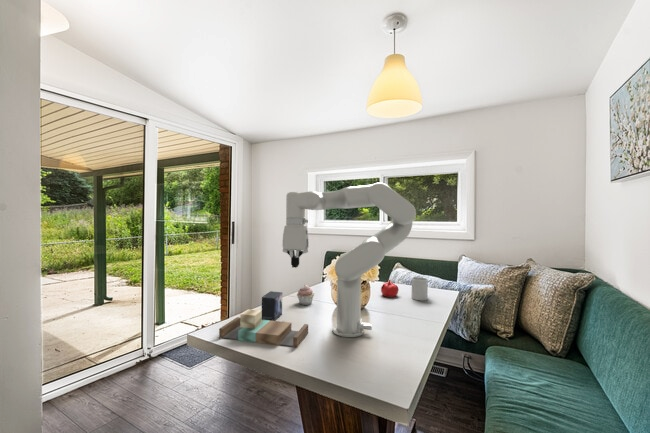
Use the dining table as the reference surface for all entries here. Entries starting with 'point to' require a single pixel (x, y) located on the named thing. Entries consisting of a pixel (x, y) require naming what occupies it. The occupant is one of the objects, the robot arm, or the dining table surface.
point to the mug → (419, 288)
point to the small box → (271, 306)
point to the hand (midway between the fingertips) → (295, 266)
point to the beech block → (251, 318)
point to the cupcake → (305, 295)
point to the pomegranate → (389, 289)
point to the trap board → (265, 333)
